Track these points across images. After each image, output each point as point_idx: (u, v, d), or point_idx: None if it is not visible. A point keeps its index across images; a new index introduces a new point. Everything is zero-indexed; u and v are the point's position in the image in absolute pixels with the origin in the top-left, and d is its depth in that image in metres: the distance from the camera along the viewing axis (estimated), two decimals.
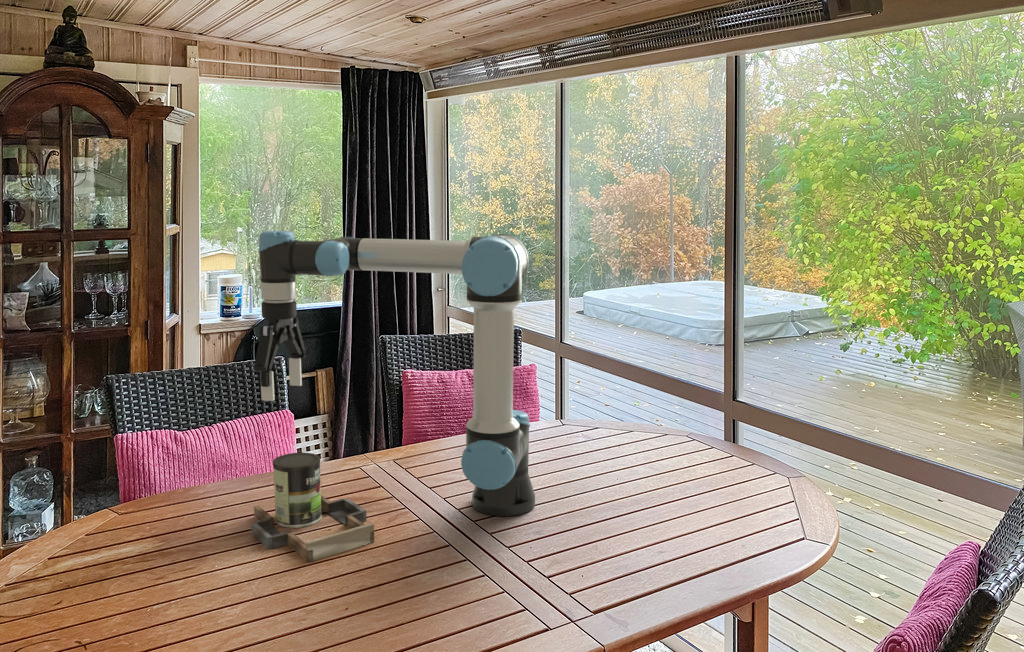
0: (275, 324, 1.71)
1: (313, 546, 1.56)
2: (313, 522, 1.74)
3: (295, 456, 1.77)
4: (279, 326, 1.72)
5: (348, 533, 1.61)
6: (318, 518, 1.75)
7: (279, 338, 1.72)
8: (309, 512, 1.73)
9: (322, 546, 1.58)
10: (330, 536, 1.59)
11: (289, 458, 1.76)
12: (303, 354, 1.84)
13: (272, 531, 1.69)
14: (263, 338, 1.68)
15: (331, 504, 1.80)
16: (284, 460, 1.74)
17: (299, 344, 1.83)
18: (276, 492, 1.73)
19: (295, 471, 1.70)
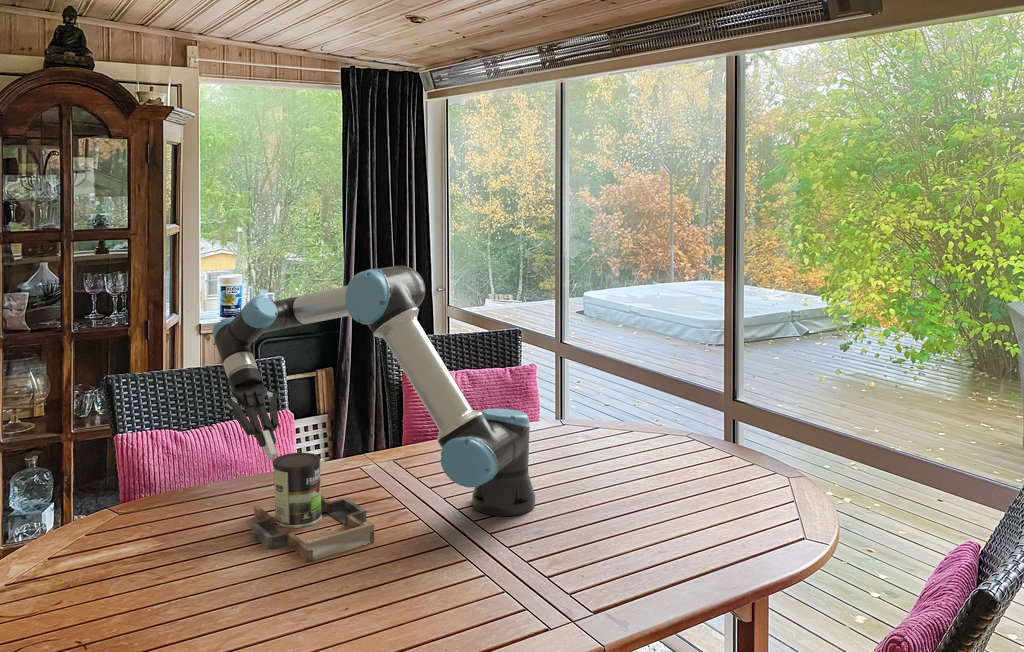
0: (233, 393, 1.89)
1: (313, 546, 1.56)
2: (313, 522, 1.74)
3: (295, 456, 1.77)
4: (239, 390, 1.90)
5: (348, 533, 1.61)
6: (318, 518, 1.75)
7: (248, 402, 1.88)
8: (309, 512, 1.73)
9: (322, 546, 1.58)
10: (330, 536, 1.59)
11: (289, 458, 1.76)
12: None
13: (272, 531, 1.69)
14: (233, 411, 1.87)
15: (331, 504, 1.80)
16: (284, 460, 1.74)
17: (272, 416, 1.90)
18: (276, 492, 1.73)
19: (295, 471, 1.70)
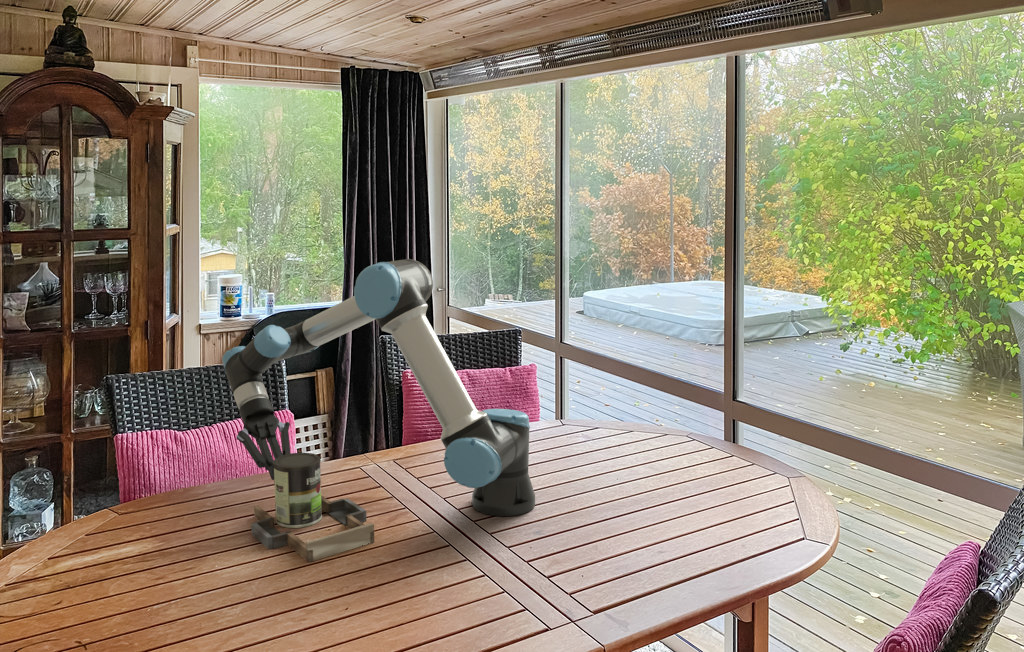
0: (244, 424, 1.85)
1: (313, 546, 1.56)
2: (313, 522, 1.74)
3: (295, 456, 1.77)
4: (250, 421, 1.86)
5: (348, 533, 1.61)
6: (318, 518, 1.75)
7: (259, 434, 1.84)
8: (309, 512, 1.73)
9: (322, 546, 1.58)
10: (330, 536, 1.59)
11: (289, 458, 1.76)
12: None
13: (272, 531, 1.69)
14: (244, 443, 1.83)
15: (331, 504, 1.80)
16: (284, 460, 1.74)
17: (284, 447, 1.86)
18: (276, 492, 1.72)
19: (296, 471, 1.70)
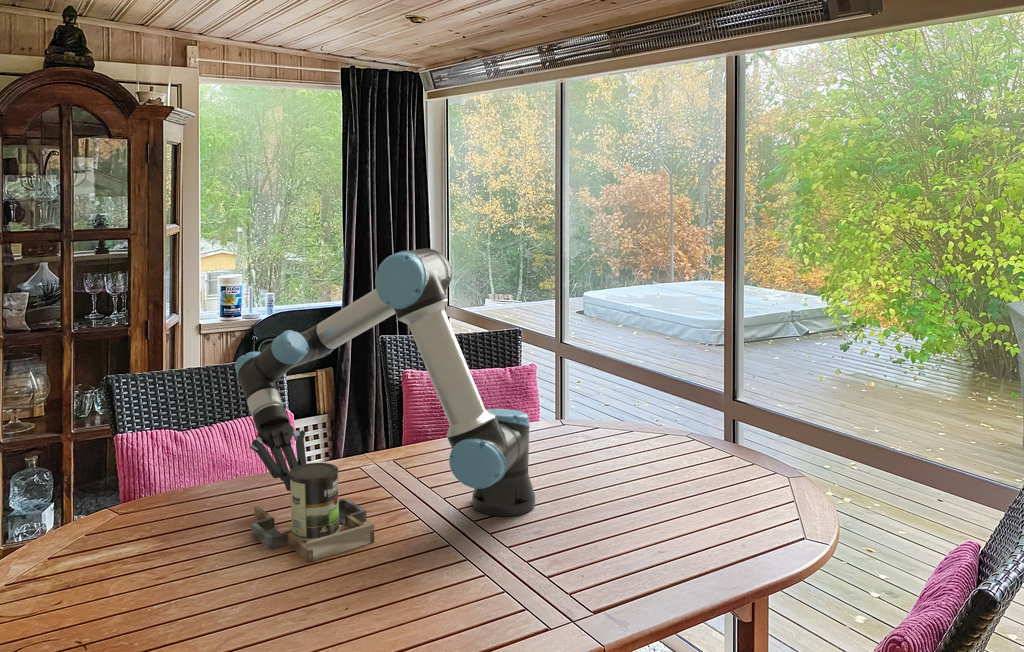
0: (258, 433, 1.78)
1: (313, 546, 1.56)
2: None
3: (311, 466, 1.71)
4: (265, 430, 1.79)
5: (348, 533, 1.61)
6: (336, 531, 1.69)
7: (274, 443, 1.78)
8: (327, 525, 1.66)
9: (322, 546, 1.58)
10: (330, 536, 1.59)
11: (306, 468, 1.69)
12: None
13: (272, 531, 1.69)
14: (258, 452, 1.76)
15: None
16: (301, 471, 1.68)
17: (299, 457, 1.79)
18: (293, 504, 1.66)
19: (313, 483, 1.63)
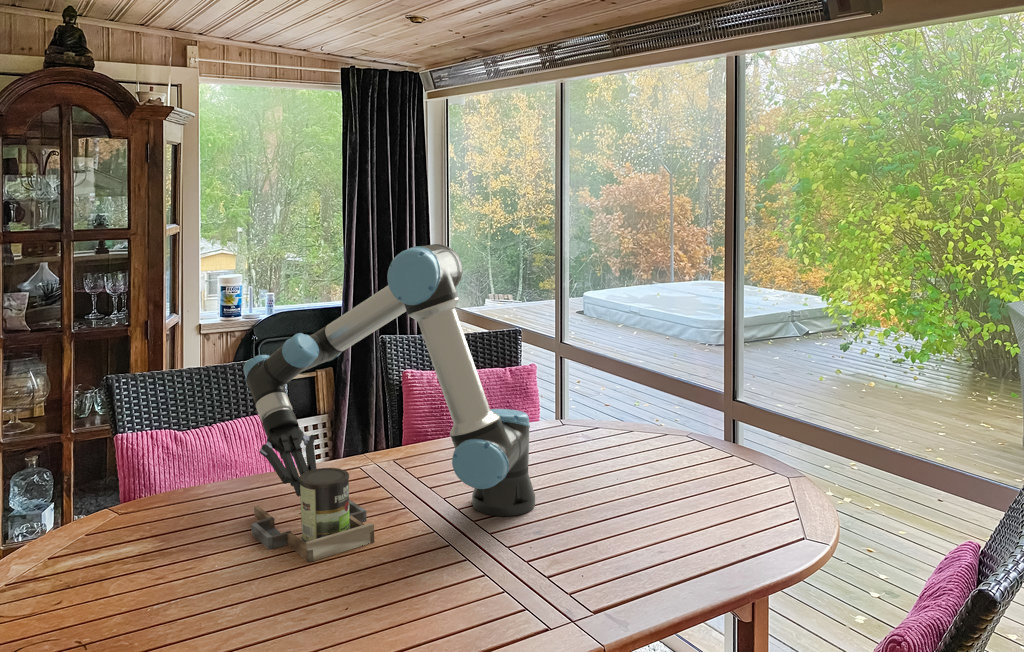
0: (268, 438, 1.75)
1: (313, 546, 1.56)
2: None
3: (322, 472, 1.68)
4: (274, 434, 1.76)
5: (348, 533, 1.61)
6: None
7: (283, 448, 1.75)
8: (337, 532, 1.63)
9: (322, 546, 1.58)
10: (330, 536, 1.59)
11: (316, 473, 1.66)
12: None
13: (272, 531, 1.69)
14: (268, 457, 1.74)
15: None
16: (311, 476, 1.65)
17: (309, 462, 1.77)
18: (303, 510, 1.63)
19: (323, 488, 1.60)
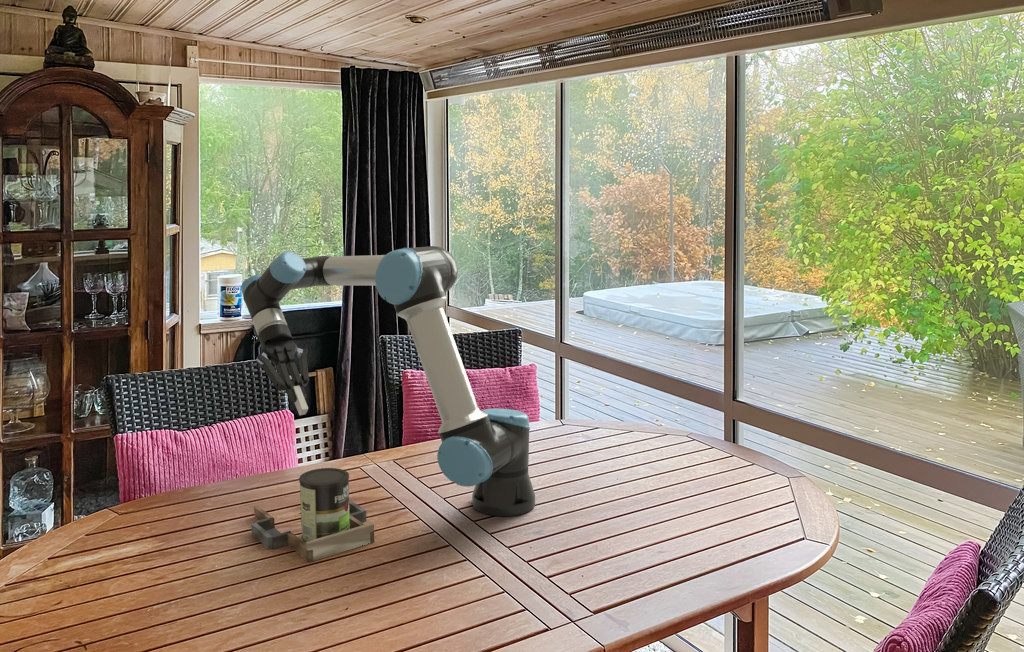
0: (263, 349, 1.87)
1: (313, 546, 1.56)
2: None
3: (322, 472, 1.68)
4: (269, 346, 1.88)
5: (348, 533, 1.61)
6: None
7: (278, 358, 1.87)
8: (337, 532, 1.63)
9: (322, 546, 1.58)
10: (330, 536, 1.59)
11: (316, 474, 1.66)
12: None
13: (272, 531, 1.69)
14: (264, 366, 1.86)
15: None
16: (311, 476, 1.65)
17: (302, 372, 1.89)
18: (303, 510, 1.63)
19: (323, 489, 1.60)
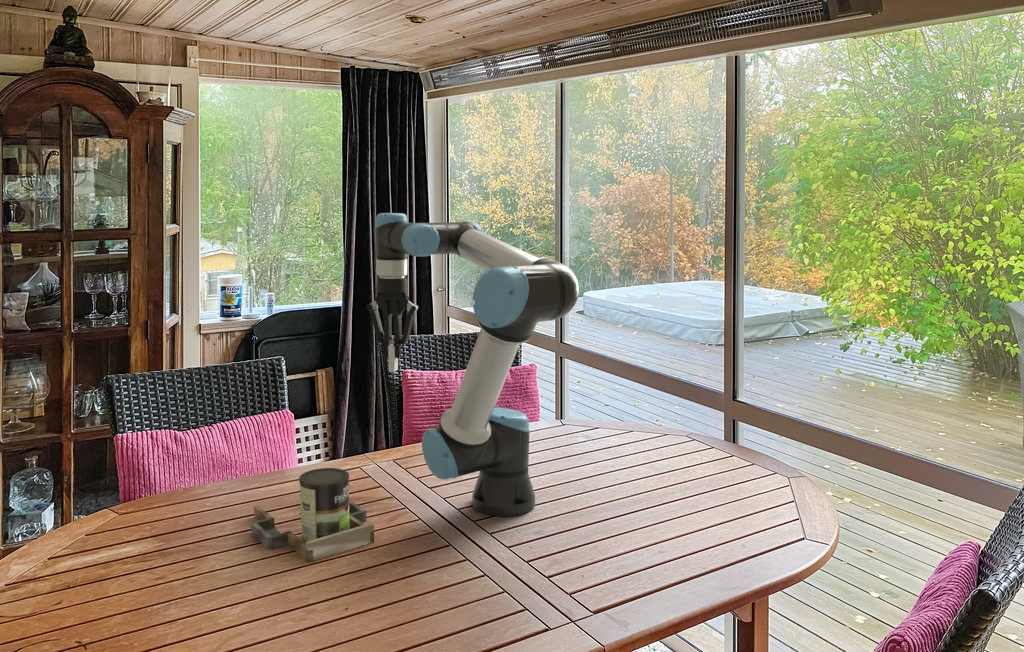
0: (375, 298, 1.91)
1: (313, 546, 1.56)
2: None
3: (322, 472, 1.68)
4: (380, 297, 1.91)
5: (348, 533, 1.61)
6: None
7: (383, 313, 1.91)
8: (337, 532, 1.63)
9: (322, 546, 1.58)
10: (330, 536, 1.59)
11: (316, 474, 1.66)
12: (396, 344, 1.92)
13: (272, 531, 1.69)
14: None
15: None
16: (311, 476, 1.65)
17: None
18: (303, 510, 1.63)
19: (323, 489, 1.60)
